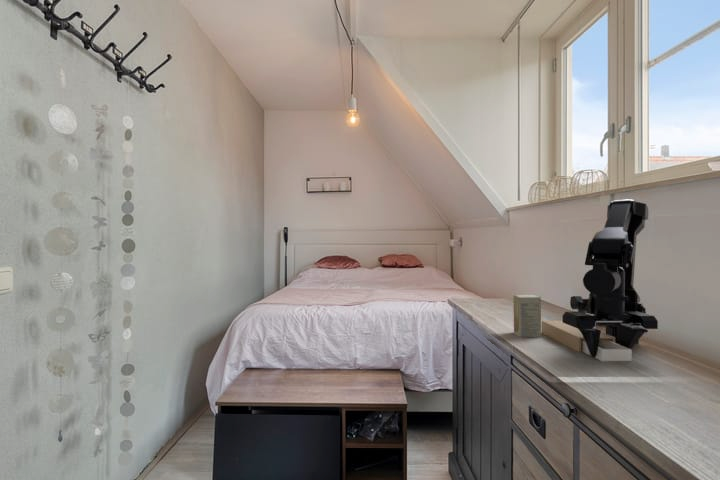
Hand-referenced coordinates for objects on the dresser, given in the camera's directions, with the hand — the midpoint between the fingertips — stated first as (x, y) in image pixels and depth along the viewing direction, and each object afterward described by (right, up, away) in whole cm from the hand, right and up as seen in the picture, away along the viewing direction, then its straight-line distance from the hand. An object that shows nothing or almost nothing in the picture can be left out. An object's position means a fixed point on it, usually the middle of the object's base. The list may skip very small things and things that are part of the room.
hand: (608, 356), depth 77 cm
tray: (0, 0, +5) cm, 6 cm away
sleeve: (0, -1, +11) cm, 12 cm away
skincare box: (-10, -1, +17) cm, 20 cm away
